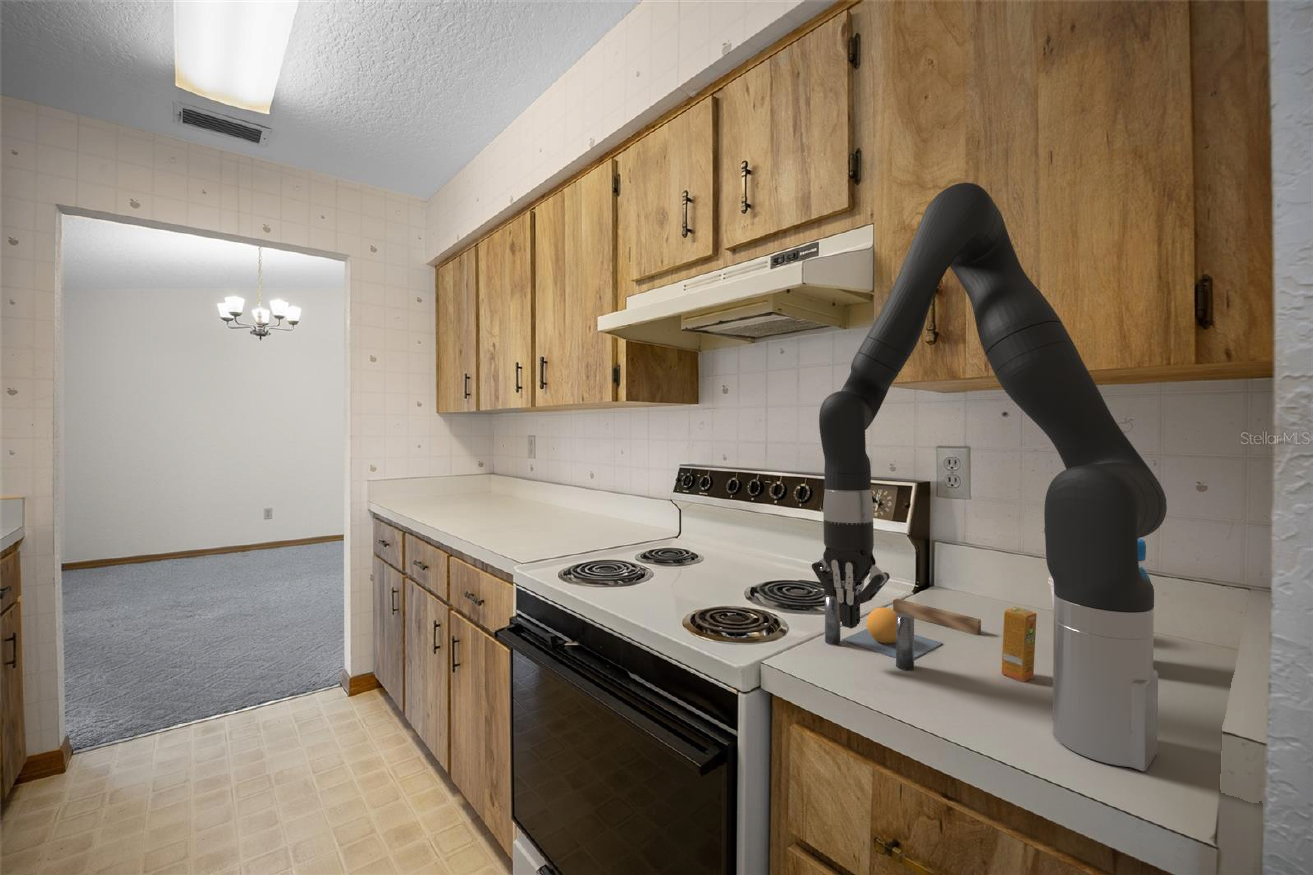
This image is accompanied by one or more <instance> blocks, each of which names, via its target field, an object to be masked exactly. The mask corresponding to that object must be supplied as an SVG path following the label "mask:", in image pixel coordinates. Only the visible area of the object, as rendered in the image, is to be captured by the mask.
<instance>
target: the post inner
mask: <svg viewBox="0 0 1313 875" xmlns="http://www.w3.org/2000/svg"><path fill="white" fill-rule="evenodd" d="M914 635H915V618H914V616H912V615H909V614H897V615H896V658H895V666H896V668H898V669H899V670H902V671H913V670H914V669H915V659H914Z"/></svg>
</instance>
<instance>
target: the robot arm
mask: <svg viewBox="0 0 1313 875" xmlns="http://www.w3.org/2000/svg"><path fill="white" fill-rule="evenodd" d="M1003 217H1004V216H1003V215H1002V213H1001V211H1000V210H999V208H998V205H996V203H995V201H994V200H993V198H992V196H991V195H990V194H989V193H988V192H987V190H985V189H984V188H983V187H981V186H980V185H979V184H976V183H973V182H960V183H956V184H953V185H950V186H948V187H946V188H945V189H943V190H942V191H941V192H939V193H937V195H936V196H935V197H934V198H933V199H932V200H931V201H930V203H929V204H928V206H927V208H926V209H925V212H924V213H923V216H922V217H921V220H920V222H919V224H918V227H917V229H916V232H915V235H914V237H913V239H912V242H911V244H910V247H909V248H908V249H909V250H908V252H907V254H906V256H905V258H904V261H903V263H902V264H901V268H900V271H899V273H898V274H897V278H896V280H895V282H894V284H893V286H892V289H891V291H890V293H889V295H888V297H887V299H886V301H885V303H884V305H883V307H882V309H881V310H880V313H879V314H878V316H877V318H876V320H875V321H874V324H873V325H872V326H871V329H870V330H869V331H868V333H867V335H866V337H865V338H864V340H863V342H862V343H861V345H860V346H859V348H858V350H857V352H856V354H855V355H854V357H853V359H852V362H851V365H850V373H849V375H848V377H847V379H846V381H845V383H844V385H843V386H842V387H841V388H842V389H841V390H840V391H839V390H838V391H835V392H833V393H831V394H829V395H828V396H827V397H826V398H824V400H823V402H822V404H821V406H820V408H819V416H818V418H819V419H818V425H819V426H818V427H819V435H820V442H821V448H822V452H823V456H824V468H823V469H824V470H823V471H824V476H823V477H824V495H823V505H822V506H823V507H822V508H823V544H824V546H825V550H824V552H823V554H822V556H823V558H821V559H820V560H818V561H816V562H813V563H811V569H812V571H813V572H814V574H815V576H816V577H817V579H818V580H819V583H820V584H821V585H822V588H823V589H824V591H825V592H826V595H829V596H830V597H835V598H836V599H837V600H838V602H839V619H840V623H841V625H842V627H845V628H847V629H854V628H857V627H858V625H859V624H860V623H861V604H865V603H867V602H870V601H872V600H873V598H874V597H875V596H876V595H877V594H878V593H879V592H880V590H882V588H883V587H884V586H885V584H887V582H888V581H889V580H890V577H891V576H890V574H889V572H888V571H887V572H883V571H882V570H881V569H880V568H879V567H878V566H877V565H876V564H877V562H876V559H875V555H874V554H873V553H874V552H873V550H874V536H875V534H874V533H875V532H874V501H873V495H872V473H871V471H872V470H871V468H872V467H871V460H870V458H869V455H868V454H867V450H866V449H867V448H866V446H867V444H866V430H867V429H868V428H869V427H870V425H872V423H873V421H874V419H875V418H876V416H877V414H878V412H879V411H880V409H881V407H882V405H883V402H884V401H885V399H886V397H887V394H888V392H889V389H890V387H891V385H892V384H893V383H894V381H895V380H896V378H898V376H899V374H900V372H901V371H902V369H903V368H904V366H905V365H906V363H907V361H908V359H909V358H910V357H911V355H912V353H913V352H914V350H915V348H916V346H917V344H918V342H919V340H920V338H921V336H922V333H923V330H924V327H925V324H926V320H927V318H928V314H929V312H930V311H929V310H930V308H931V305H932V302H933V300H934V297H935V295H936V292H937V289H938V287H939V285H940V282H942V280H943V277H944V275H945V274H946V272H947V271H948V268H950V270H951V271H952V272H953V273H954V275H955V276H956V278H957V279H958V282H959V283H960V284H961V286H962V287H963V289H964V291H965V292H966V294H967V296H968V298H969V300H970V303H971V307H972V310H973V311H972V312H973V315H974V322H975V325H976V330H977V336H978V339H979V342H980V344H981V347H982V350H983V353H984V354H985V357H986V359H987V361H988V364H989V365H990V367H991V370H992V371H993V373H994V375H995V377H996V379H997V381H998V383H999V384H1000V386H1001V388H1002V389H1003V390H1004V392H1005V393H1006V394H1007V396H1009V397H1010V399H1011V400H1012V401H1013V402H1014V403H1015V404H1016V406H1018V407H1019V408H1020V410H1022V411H1023V412H1024V413H1025V415H1027V417H1029V418H1030V419H1031V420H1032V421H1033V422H1034V424H1036V425H1037V426H1038V427H1039V429H1041V430H1042V432H1044V433H1045V434H1046V435H1047V437H1048V438H1049V440H1050V442H1051V443H1052V444H1053V446H1054V447H1055V449H1056V451H1057V452H1058V453H1057V454H1059V457H1060V458H1061V459H1060V460H1062V463H1063V465H1064V467H1065V469H1064V470H1063V471H1060V472H1059V473H1058V474H1057V475H1056V476H1055V477H1054V478H1053V479H1052V481H1051V482H1050V484H1049V486H1048V488H1047V491H1046V494H1045V499H1044V512H1043V513H1044V514H1043V515H1044V538H1045V559H1046V566H1047V570H1048V571H1049V574H1050V576H1052V578H1053V581H1054V608H1053V645H1052V646H1053V647H1052V648H1053V654H1052V656H1053V657H1052V658H1053V662H1052V663H1053V665H1052V666H1053V667H1052V669H1053V670H1052V672H1053V674H1052V680H1053V681H1052V682H1053V683H1052V731H1053V735H1054V738H1056V740H1057V741H1058V742H1059V743H1060V744H1062V745H1063V746H1064V747H1066V748H1068V749H1069V750H1071V751H1073V752H1074V753H1076V754H1078V755H1081V756H1084V757H1086V758H1089V759H1091V760H1094V761H1096V762H1097V761H1098V762H1101V763H1105V764H1109V765H1113V766H1119V767H1127V768H1131V769H1136V770H1139V771H1141V772H1146V771H1147V769H1148V767H1149V766H1150V764H1151V763H1152V761H1153V760H1154V758H1155V757H1156V755H1157V753H1158V727H1159V726H1158V722H1159V721H1158V719H1159V716H1158V715H1159V713H1158V712H1159V673H1158V671H1157V670H1156V669H1154V628H1155V625H1154V621H1155V620H1154V618H1155V611H1154V610H1155V608H1154V607H1155V590H1154V585H1153V583H1152V581H1151V580H1150V581H1151V582H1150V581H1149V580H1147V579H1146V578H1144V577H1143V576H1142V575H1141V573H1140V570H1139V563H1138V538H1139V539H1141V538H1144V537H1147V536H1149V535H1151V534H1152V533H1154V532H1155V531H1156V530H1158V529H1159V528H1160V527H1161V526H1162V524H1163V522H1164V521H1165V519H1166V515H1167V510H1168V509H1167V508H1168V506H1167V498H1166V494H1165V490H1164V489H1163V487H1162V484H1161V483H1160V481H1159V480H1158V478H1157V477H1156V475H1155V474H1154V473H1153V472H1152V470H1151V468H1150V467H1149V466H1148V465H1147V463H1146V462H1145V460H1144V459H1143V458H1142V456H1141V455H1140V453H1138V451H1137V450H1136V448H1135V447H1134V445H1133V444H1132V443H1131V441H1130V440H1129V439H1128V438H1127V436H1126V434H1125V433H1124V432H1123V430H1122V429H1121V428H1120V426H1119V424H1118V423H1117V421H1116V420H1115V418H1114V417H1113V415H1112V414H1111V412H1110V410H1109V408H1108V406H1107V404H1106V402H1105V400H1104V398H1103V396H1102V393H1101V392H1100V390H1099V388H1098V386H1097V385H1096V382H1095V381H1094V379H1093V377H1092V375H1091V373H1090V371H1089V370H1088V368H1087V366H1086V364H1085V362H1084V360H1083V358H1082V357H1081V354H1080V353H1079V351H1078V349H1077V347H1076V345H1075V343H1074V341H1073V340H1072V338H1071V335H1070V334H1069V332H1068V330H1067V329H1066V327H1065V325H1064V323H1063V321H1062V320H1061V318H1060V317H1059V315H1058V313H1057V312H1056V311H1055V309H1054V308H1053V306H1052V305H1051V304H1050V302H1049V301H1048V300H1047V298H1046V297H1045V296H1044V294H1043V293H1042V292H1041V291H1040V290H1039V289H1038V288H1037V286H1036V285H1035V284H1034V283H1033V282H1032V281H1031V279H1030V278H1029V276H1028V275H1027V274H1026V272H1025V270H1024V269H1023V267H1022V265H1021V263H1020V261H1019V258H1018V256H1017V254H1016V251H1015V249H1014V246H1013V244H1012V241H1011V238H1010V235H1009V231H1008V230H1007V227H1006V223H1005V220H1004V218H1003ZM867 577H868V581H869V582H868V584H866V586H865V580H866V579H867Z"/></svg>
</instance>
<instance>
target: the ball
mask: <svg viewBox="0 0 1313 875" xmlns="http://www.w3.org/2000/svg"><path fill="white" fill-rule="evenodd" d="M896 615H897V613H896V612H895V611H893V608H889V607H877V608H874V609H873V610H871V612H870V613H869V614H868V616H867V618H866V629H868V632H869V633H870V635H871V636H872V637H873V638H874V639H875V640H877V641H879V642H881V643H887V644H889V643H893V642H895V641H896Z"/></svg>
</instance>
